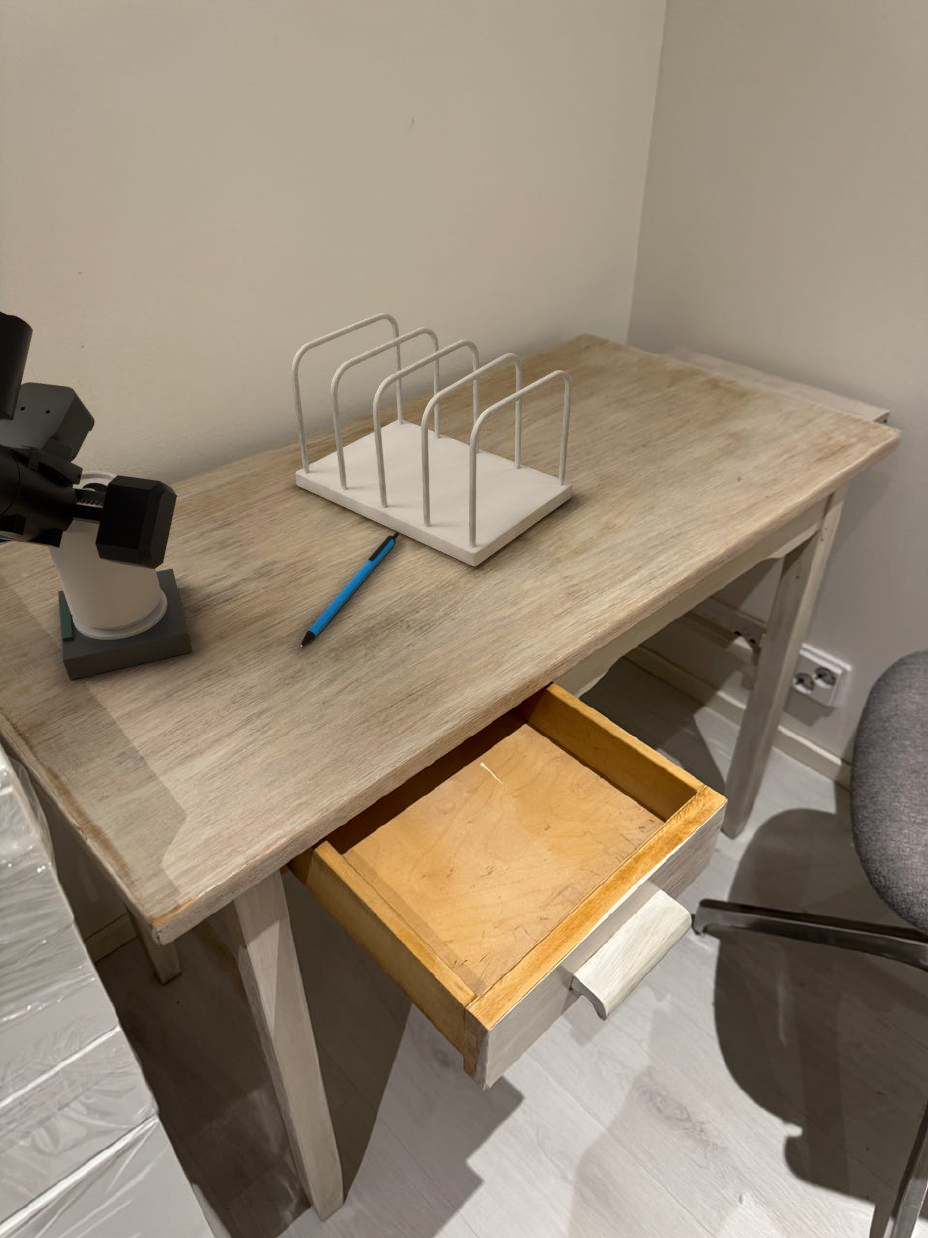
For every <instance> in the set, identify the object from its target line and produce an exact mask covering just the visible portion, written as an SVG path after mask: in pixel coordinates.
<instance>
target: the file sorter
mask: <svg viewBox="0 0 928 1238" xmlns="http://www.w3.org/2000/svg"><path fill="white" fill-rule="evenodd" d="M381 320H387V321H389V324H390V325H391V328H392V335H393V339H391V340H389V341H387V342H384V343H383V344H381V345H378V346H376V347H373V348H372V349H369V350H366V351H365V352H363V353H361V354H359V355H357V356H354V357H352V358H350V359H348V360H346V361H344V362H342V364H341V365H340V366H339V367H338V368H337V369H336V371H335V372H334V375H333V378H332V380H331V384H330V402H331V403H330V404H331V412H332V421H333V429H334V437H335V445H336V450H335V451H333V452H331V453H329V454H328V455H326V456H324V457H322V458H320V459H318V460H316V461H313V462H312V463H310V464H309V455H308V446H307V439H306V431H305V425H304V423H305V422H304V415H303V406H302V401H301V390H300V384H299V383H300V382H299V366H300V362H301V360H302V358H303V356H304V355H305V354H306V353H307V352H308V351H309V350H311V349H315V348H316V347H319V346H321V345H323V344H325V343H328V342H330V341H333V340H335V339H338V338H340V337H342V336H345V335H347V334H349V333H352V332H354V331H357V330H359V329H362V328H364V327H367V326H369V325H372V324H374V323H377V322H379V321H381ZM424 334H427V335H428V336H429V337H430V339H431V342H432V353H431V354H429V355H427V356H425V357H423V358H421V359H419V360H418V361H416V362H413V363H412V364H409V365H408V366H406V367H404V368H402V365H401V346H400V345H401V344H403V343H406V342H407V341H409V340H412V339H414V338H416V337H418V336H421V335H424ZM463 347H468V349H470V351H471V354H472V372H471V373H469V374H468V375H466V376H464V377H462V378H461V379H459V380H457V381H455V382H454V383H452V384H450V385H449V386H447V387H445V388H443V389H442V390H440V359H441V358H443V357H445V356H447V355H449V354H451V353H453V352H455V351H457V350H459V349H461V348H463ZM392 348H393V351H394V371H395V372H394V373H392V374H391V375H388V376H387V377H386V378H384V380H383V381H382V382H381V383H380V385H379V386H378V388H377V390H376V392H375V395H374V397H373V403H372V418H373V432H371V433H369V434H367V435H365V436H362V437H361V438H358V439H356V440H355V441H353V442H351V443H349V444H347V445H345V446H344V445H343V436H342V429H341V428H342V427H341V419H340V408H339V407H340V406H339V398H338V390H339V389H338V388H339V383H340V380H341V379H342V376H343V375H344V374H345V373H346V372H347V371H348V370H349V369H350V368H351V367H354V366H356V365H358V364H361V363H362V362H365V361H367V360H368V359H371V358H374V357H375V356H378V355H379V354H382V353H384V352H386V351H388V350H391V349H392ZM479 353H480V352H479V349H478V347H477V344H475V343H474V341H472V340H470V339H467V338H463V339H460V340H457V341H456V342H453V343H451V344H449V345H447V346H445V347H443V348H441V349H440V346H439V339H438V336H437V334H436V332H435V331H434V330H433V329H432V328H430V327H427V326H421V327H417V328H416V329H413V330H411V331H409V332H407V333H404V334H402V335H400V331H399V324H398V322H397V320H396V318H395V317H394V316H393V315H392V314H389V313H387V312H380V313H377V314H374V315H371V316H369V317H367V318H365V319H361V320H359V321H357V322H355V323H352V324H349V325H346V326H344V327H342V328H340V329H337V330H335V331H332V332H330V333H328V334H325V335H322V336H320V337H318V338H315V339H312V340H309V341H308V342H306V343H305V344H303V345H302V346H300V348H299V349H297V351H296V353H295V355H294V357H293V359H292V363H291V368H290V369H291V370H290V371H291V373H290V375H291V384H292V385H291V386H292V392H293V393H292V394H293V400H294V409H295V418H296V424H297V425H296V426H297V432H298V433H297V434H298V440H299V448H300V455H301V456H300V457H301V462H302V468H300V469H299V470H297V471H295V483H296V486H297V487H300V488H301V489H304V490H306V491H307V492H310V493H313V494H315V495H317V496H318V497H319V496H320V497H321V498H323V499H326V500H327V501H330V502H333V503H335V504H337V505H339V506H341V507H344V508H346V509H348V510H350V511H352V512H353V513H357V514H359V515H361V516H363V517H365V518H367V519H369V520H371V521H374V522H376V523H378V524H380V525H383V526H385V527H387V528H389V529H391V530H393V531H396V532H398V533H399V534H402V535H404V536H406V537H409V538H411V539H413V540H415V541H417V542H419V543H421V544H423V545H426V546H428V547H431V548H433V549H434V550H437V551H439V552H441V553H443V554H445V555H448V556H450V557H452V558H453V559H454V558H455V559H456V560H458V561H461V562H463V563H465V564H467V565H468V566H471V567H477V566H478V565H481V564H482V563H483V562H484V561H486V559H488V558H489V557H491V556H492V555H494V554H495V553H496V552H497V551H499V550H501V549H502V548H504V547H505V546H506V545H507V544H509V543H510V542H512V541H513V540H515V539H516V538H517V537H518V536H520V535H521V534H523V533H524V532H526V531H527V530H528V529H529V528H530V527H532V526H533V525H535V524H537V522H539V521H541V520H542V519H543V518H544V517H546V516H548V514H550V513H552V512H553V511H554V510H556V509H557V508H558V507H560V506H562V504H564V503H566V502H568V500H570V499H571V498H572V497H573V496H572V495H573V483H572V482H569V481H566V480H565V477H566V468H567V455H568V444H569V443H568V441H569V431H570V419H571V407H572V406H571V405H572V393H573V392H572V391H573V385H572V384H573V383H572V382H573V381H572V378H571V375H570V374H569V372H567V371H565V370H561V369H558V370H555V371H552V372H550V373H549V374H547V375H545V376H543V377H542V378H539V379H538V380H536V381H534V382H533V383H530V384H529V385H527V386H525V387H524V388H523V373H524V372H523V370H524V369H523V363H522V360H521V358H520V357H519V356H518V355H517V354H516V353H512V352H507V353H505V354H503V355H501V356H499V357H497V358H495V359H494V360H492V361H491V362H489V363H486V364H485V365H483V366H482V367H480V355H479ZM508 361H512V362H513V363H514V366H515V388H516V389H515V392H514V393H512V394H510V395H509V396H507V397H505V398H503V399H502V400H500V401H497V402H496V403H494V404H493V405H491V406H489V407H488V408H486V409H485V410H484V411H483V412H481V414H480V378H481V377H482V376H484V375H486V374H487V373H490V372H491V371H492V370H495V369H496V368H498V367H500V366H501V365H503V364H505V363H507V362H508ZM431 363H432V367H433V396H432V397H431V399H430V400H429V401H428V403H427V405H426V407H425V409H424V412H423V415H422V418H421V425H418V424H415V423H413V422H410V421H408V420H405V419H404V405H403V388H402V387H403V386H402V379H403V378H404V377H406V376H408V375H410V374H412V373H414V372H416V371H418V370H420V369H421V368H424V367H426V366H427V365H429V364H431ZM559 378H562V379H563V382H564V402H563V414H562V416H563V417H562V427H561V439H560V440H561V441H560V452H559V453H560V454H559V466H558V477H557V476H554V475H551V474H548V473H546V472H543V471H540V470H537V469H534V468H532V467H529V466H526V465H523V464H521V460H522V459H521V457H522V456H521V453H522V416H523V398H524V397H526V396H528V395H530V394H532V393H533V392H534V391H537V390H539V389H540V388H542V387H544V386H546V385H548V384H549V383H551V382H553V381H555V380H557V379H559ZM472 382H473V387H472V395H473V396H472V397H473V400H472V404H473V427H472V430H471V433H470V438H469V444H468V443H465V442H463V441H461V440H458V439H454V438H452V437H449V436H447V435H444V434H441V405H440V403H441V401H442V400H443V399H445V398H446V397H448V396H450V395H452V394H454V393H455V392H457V391H459V390H460V389H462V388H464V387H465V386H467V385H469V384H471V383H472ZM393 383H395V387H396V410H397V419H396V420H394V421H392V422H391V423H388V424H387V425H385V426H383V427H382V426H381V425H382V424H381V423H382V422H381V402H382V398H383V396H384V393H385V392H386V390H387V389H388V388H389V386H390V385H392V384H393ZM514 403H515V423H514V425H515V426H514V439H515V440H514V441H515V442H514V461H513V460H510V459H508V458H505V457H503V456H500V455H497V454H494V453H492V452H489V451H486V450H485V449H481V448H480V432H481V429H482V427H483V425H484V424H485V422H486V421H487V420H488V419H489V418H490V417H491V416H493V415H495V414H497V412H500V411H501V410H503V409H505V408H507V407H508V406H510V405H513V404H514ZM433 410H434V430H432V429H429V423H430V418H431V415H432V412H433Z"/></svg>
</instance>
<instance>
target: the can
mask: <svg viewBox="0 0 928 1238" xmlns="http://www.w3.org/2000/svg"><path fill="white" fill-rule="evenodd" d="M117 475H118V474H115V473H113V472H111V471H110V472H109V471H103V470H84V471H82V476H81V480H80V484H79V485H75V484H73V488H77V489H84V490H91V491H98V492H105V493H106V491H107V486H108V483H109V482H110V481H112V480H113V479H114V478H115V477H116V476H117ZM77 504H80V505H87V506H94V507H101V508H103V507H102V506H99V505H98V506H96V505H94V504H93V505H91V504H85V503H84V504H82V503H80V501H79V503H77ZM98 528H99V524H96V523H90V522H83V521H76V520H73V521H72V523H71V525H70V527H69V528H68V529H67V530H66V531H65V532H63V534H62V539H61V544H60V548H55V547H49V546H47V548H48V551H49V553H50V556H51V559H52V563H53V565H54V568H55V571H56V574H57V576H58V579H59V583H60V586H61V589H62V590H63V591H64V594H65V597H66V600H67V603H68V606H69V609H70V612H71V614H72V616H73V617H74V618H75V620H76V621H78V622H80V623H82V624H84V625H85V626H90V627H94V628H96V629H102V630H117V629H122V628H127V627H129V626H132V625H134V624H137V623H139V622H140V621H142V620H143V619H145V618H146V617H147V616H148V615H149V614H150V613H151V612H152V611H153V610H154V609H155V607H156V606H157V605H158V604H159V602H160V599H161V596H162V594H161V589H160V585H159V581H158V577H157V574H156V572H157V571H156V570H157V569H150V568H143V567H137V566H131V565H124V564H120V563H115V562H110V561H107V560H104V559H101V558H99V554H98V551H97V548H96V544H95V542H96V537H97V533H98Z"/></svg>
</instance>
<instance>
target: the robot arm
mask: <svg viewBox="0 0 928 1238" xmlns="http://www.w3.org/2000/svg"><path fill="white" fill-rule="evenodd" d="M33 332H34V329H33V328H32V326H31V325H30V324H29V323H28V322H27V321H26V320H24V319H23V318H21V317H19V316H17V315H15V314H8V313H5V312H2V311H0V544H1V543H2V544H3V543H8V542H17V543H25V544H30V545H37V546H43V547H48V546H49V547H55V548H60V544H61V539H62V534H63V532H65V531H66V530H67V529H68V528H69V527H70V525H71V523H72V521H73V520H76V521H83V522H90V523H96V524H99V528H98V533H97V537H96V542H95V544H96V548H97V551H98V554H99V558H101V559H104V560H107V561H110V562H115V563H120V564H124V565H131V566H137V567H143V568H150V569H155V570H157V568H158V567H160V566H161V565H162V564H164V561H165V557H166V551H167V548H168V547H167V546H168V541H169V537H170V532H171V527H172V522H173V517H174V513H175V508H176V504H177V499H178V495H177V494H176V492H175V490H174V489H173V487H172V486H171V485H168V484H167V483H165V482H163V481H161V480H156V479H151V478H150V479H149V478H142V477H135V476H129V475H120V474H116V475H117V476H116V477H115V478H114V479H113V480H112V481H110V482H109V483H108V486H107V491H106V493H105V492H98V491H91V490H84V489H77V488H73V484H75V485H79V484H80V480H81V476H82V472H84V471H83V470H84V468H83V467H81V466H80V465H77V464H76V463H73V461H74V460H75V459H76V458H77V456H78V454H79V452H80V451H81V449H82V447H83V445H84V442H85V440H86V439H87V436H88V434H89V433H90V432H91V431H93V428H94V427H95V422H96V421H95V418H94V417H93V414H91V412H90V411H89V409H88V408H87V406H86V405H85V403H84V402H83V401H82V399H81V398H80V397H79V395H78V394H77V392H76V391H75V389H74V388H73V387H70V386H66V385H58V384H50V383H41V382H33V381H29V382H28V381H27V382H24V383H23V378H24V373H25V368H26V364H27V359H28V355H29V350H30V346H31V342H32V337H33ZM79 501H80V503H82V504H84V503H85V504H91V505H93V504H94V505H96V506H98V505H99V506H102V507H103V508H101V507H94V506H87V505H80V504H77V503H79Z"/></svg>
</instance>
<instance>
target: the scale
mask: <svg viewBox="0 0 928 1238" xmlns="http://www.w3.org/2000/svg"><path fill="white" fill-rule="evenodd" d="M156 574H157V577H158V581H159V585H160V589H161V594H162V596H161V599H160V602H159V604H158V605H157V606H156V607H155V609H154V610H153V611H152V612H151V613H150V614H149V615H148V616H147V617H146V618H145V619H143V620H142V621H140V622H139V623H137V624H134V625H132V626H129V627H127V628H122V629H117V630H102V629H96V628H94V627H90V626H85V625H84V624H82V623H80V622H78V621H76V620H75V618H74V617H73V616H72V614H71V612H70V609H69V606H68V603H67V600H66V597H65V594H64V591H63V589H62V590H59V591H58V592H57V598H58V611H59V626H60V639H61V655H62V663H63V666H64V668H65V671H66V673H67V676H68V679H69V680H70V681H73V680H76V679H80V678H81V679H82V678H84V677H90V676H94V675H97V674H102V673H107V672H111V671H114V670H115V671H116V670H119V669H124V668H128V667H133V666H137V665H142V664H145V663H151V662H154V661H155V662H156V661H159V660H163V659H167V658H171V657H176V656H181V655H184V654H190V653H193V647H192V642H191V638H190V633H189V630H188V626H187V621H186V617H185V614H184V609H183V605H182V601H181V597H180V592H179V589H178V584H177V581H176V580H177V579H176V577H175V571H174V568H167V569H162V570H157V571H156Z"/></svg>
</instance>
